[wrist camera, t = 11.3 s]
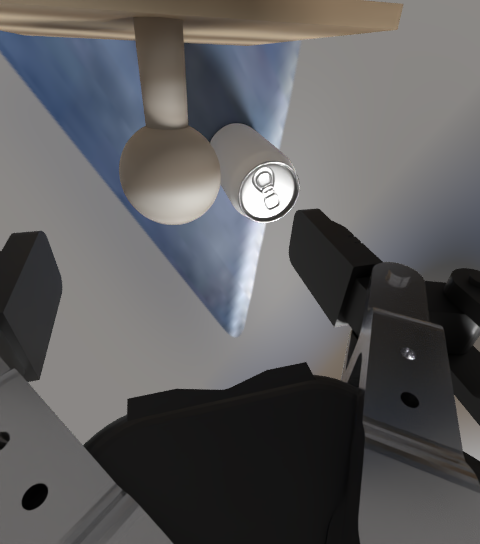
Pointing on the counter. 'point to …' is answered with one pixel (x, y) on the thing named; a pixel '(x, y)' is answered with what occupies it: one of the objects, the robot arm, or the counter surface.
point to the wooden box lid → (172, 79)
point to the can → (255, 173)
